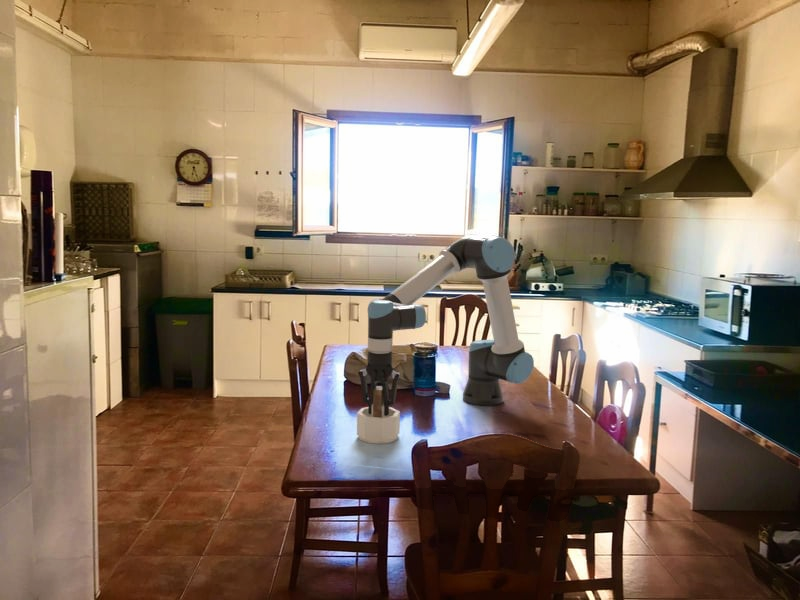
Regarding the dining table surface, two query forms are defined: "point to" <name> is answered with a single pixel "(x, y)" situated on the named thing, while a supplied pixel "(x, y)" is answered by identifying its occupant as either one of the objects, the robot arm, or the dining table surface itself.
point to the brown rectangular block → (377, 401)
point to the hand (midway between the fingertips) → (378, 424)
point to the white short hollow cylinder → (378, 426)
